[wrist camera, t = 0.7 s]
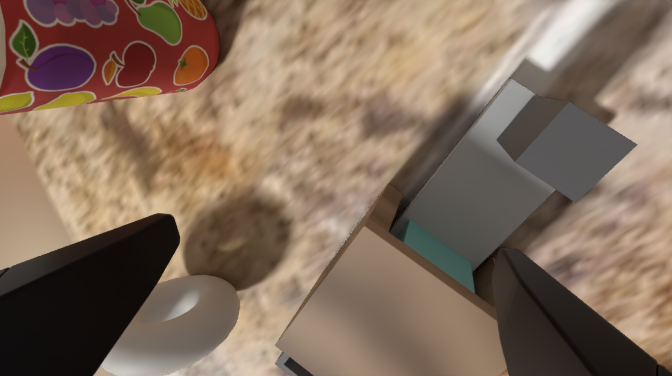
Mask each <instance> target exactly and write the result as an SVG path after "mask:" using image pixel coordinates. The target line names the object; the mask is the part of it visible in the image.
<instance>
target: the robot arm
mask: <svg viewBox="0 0 672 376" xmlns="http://www.w3.org/2000/svg"><path fill="white" fill-rule="evenodd" d="M179 243H180V235H179V232H178V228H177V225H176V222H175V219H174V217H173V216H172V215H171V214H163V213H157V214H154V215H151V216H148V217H146V218H143V219H140V220H137V221H135V222H132V223H129V224H126V225H124V226H121V227H118V228H115V229H113V230H110V231H107V232H104V233H102V234H99V235H96V236H93V237H91V238H88V239H85V240H82V241H80V242H77V243H74V244H71V245H69V246H66V247H63V248H60V249H58V250H55V251H52V252H49V253H47V254H44V255H41V256H38V257H36V258H33V259H30V260H27V261H25V262H22V263H19V264H16V265H14V266H12V267H11V268H5V269H3V270H0V376H93V375H94V374H95V373H96V371H97V370H98V368H99V367H100V365H101V364H102V363H103V361H104V360H105V358H106V357H107V355H108V354H109V353H110V351H111V350H112V348H113V347H114V345H115V344H116V343H117V341H118V340H119V338H120V337H121V335H122V334H123V333H124V331H125V330H126V328H127V327H128V325H129V324H130V323H131V321H132V320H133V318H134V317H135V315H136V314H137V313H138V311H139V310H140V308H141V307H142V305H143V304H144V303H145V301H146V300H147V298H148V297H149V295H150V294H151V292H152V291H153V289H154V288H155V286H156V285H157V283H158V281H159V279H160V278H161V276H162V274H163V272H164V271H165V269H166V267H167V265H168V264H169V262H170V260H171V258H172V256H173V255H174V253H175V251H176V249H177V248H178V246H179ZM492 287H493V294H494V301H495V309H496V316H497V323H498V331H499V337H500V342H501V346H502V351H503V354H504V358H505V362H506V366H507V370H508V374H509V376H672V373H671V372H670V371H669V370H668V369H666V368H665V367H664V366H663V365H660V364H659V365H657V364H658V363H657V361H656V360H655V359H654V358H652V357H651V356H650V355H649V354H647V353H646V352H645V351H644V350H643V349H641V348H640V347H639V346H638V345H636V344H635V343H634V342H633V341H631V340H630V339H629V338H628V337H626V336H625V335H624V334H623V333H621V332H620V331H619V330H618V329H616V328H615V327H614V326H613V325H612V324H610V323H609V322H608V321H607V320H605V319H604V318H603V317H602V316H600V315H599V314H598V313H597V312H595V311H594V310H593V309H592V308H590V307H589V306H588V305H587V304H585V303H584V302H583V301H582V300H580V299H579V298H578V297H577V296H576V295H574V294H573V293H572V292H571V291H569V290H568V289H567V288H566V287H564V286H563V285H562V284H561V283H559V282H558V281H557V280H556V279H554V278H553V277H552V276H551V275H549V274H548V273H547V272H546V271H545V270H543V269H542V268H541V267H540V266H538V265H537V264H536V263H535V262H533V261H532V260H531V259H530V258H528V257H527V256H526V255H525V254H523V253H522V252H521V251H519V250H517V249H509V248H501V249H500V250H499V251H498V254H497V257H496V261H495V265H494V269H493V273H492Z"/></svg>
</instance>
